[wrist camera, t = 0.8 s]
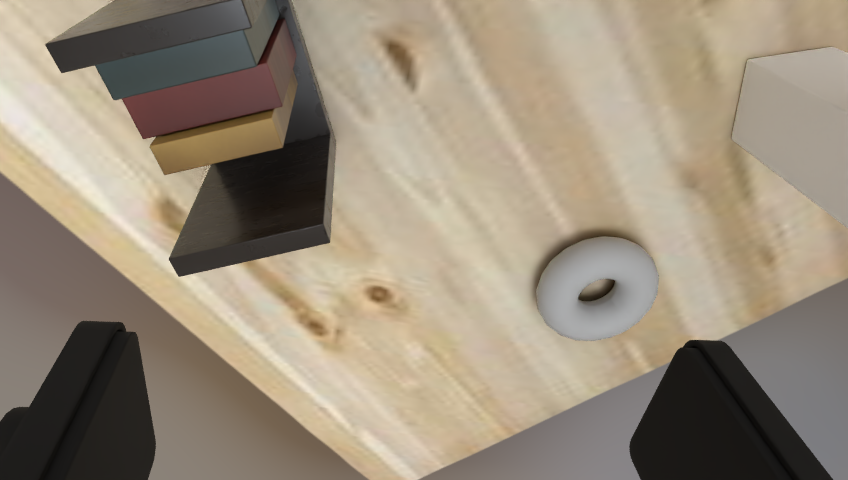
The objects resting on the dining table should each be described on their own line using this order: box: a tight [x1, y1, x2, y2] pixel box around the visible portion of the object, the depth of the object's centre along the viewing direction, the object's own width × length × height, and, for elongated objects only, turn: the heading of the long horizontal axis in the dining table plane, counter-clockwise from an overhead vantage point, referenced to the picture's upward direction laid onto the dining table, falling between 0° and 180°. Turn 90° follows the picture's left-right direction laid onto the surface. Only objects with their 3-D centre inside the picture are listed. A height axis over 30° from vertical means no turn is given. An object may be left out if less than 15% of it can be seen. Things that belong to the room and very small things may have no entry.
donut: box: [536, 236, 659, 341], centre depth 47 cm, size 10×3×10 cm
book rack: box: [45, 0, 336, 277], centre depth 31 cm, size 12×8×12 cm, turn 11°
